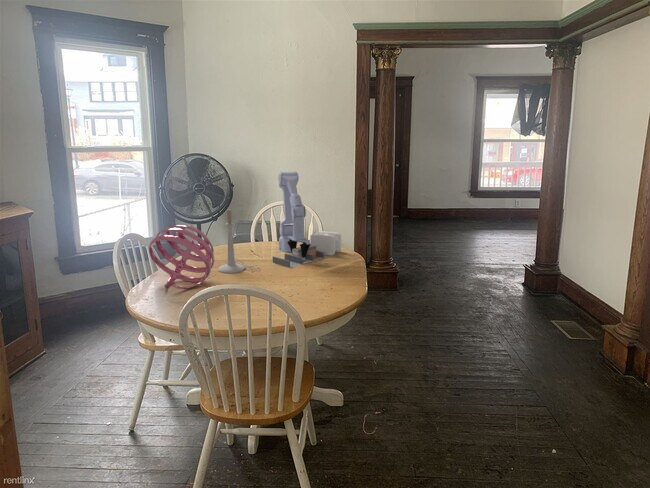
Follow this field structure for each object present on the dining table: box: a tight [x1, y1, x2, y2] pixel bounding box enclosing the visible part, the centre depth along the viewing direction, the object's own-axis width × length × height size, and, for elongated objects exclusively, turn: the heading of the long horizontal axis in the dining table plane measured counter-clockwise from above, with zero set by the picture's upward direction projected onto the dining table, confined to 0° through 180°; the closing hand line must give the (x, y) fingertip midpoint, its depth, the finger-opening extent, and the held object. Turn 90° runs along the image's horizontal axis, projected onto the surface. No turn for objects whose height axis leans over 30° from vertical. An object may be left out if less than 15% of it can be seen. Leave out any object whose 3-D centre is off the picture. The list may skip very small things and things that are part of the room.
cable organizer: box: [309, 230, 342, 256], centre depth 272 cm, size 15×11×12 cm
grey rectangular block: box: [291, 246, 305, 260], centre depth 256 cm, size 4×5×6 cm
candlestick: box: [217, 208, 246, 274], centre depth 240 cm, size 13×13×30 cm
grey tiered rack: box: [272, 250, 325, 268], centre depth 257 cm, size 14×25×4 cm, turn 136°
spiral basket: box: [148, 224, 215, 290], centre depth 217 cm, size 28×28×27 cm
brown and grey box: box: [307, 245, 316, 258], centre depth 262 cm, size 4×5×6 cm
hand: (298, 255), depth 257 cm, fingers open, 7 cm apart
